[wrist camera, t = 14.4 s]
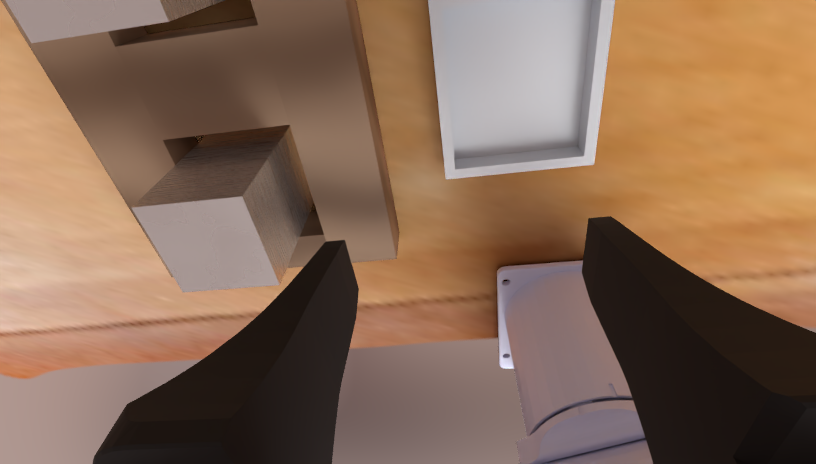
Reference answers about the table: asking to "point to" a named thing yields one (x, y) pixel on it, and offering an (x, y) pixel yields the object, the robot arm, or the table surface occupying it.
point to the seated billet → (230, 210)
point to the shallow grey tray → (519, 82)
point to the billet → (95, 15)
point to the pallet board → (239, 108)
